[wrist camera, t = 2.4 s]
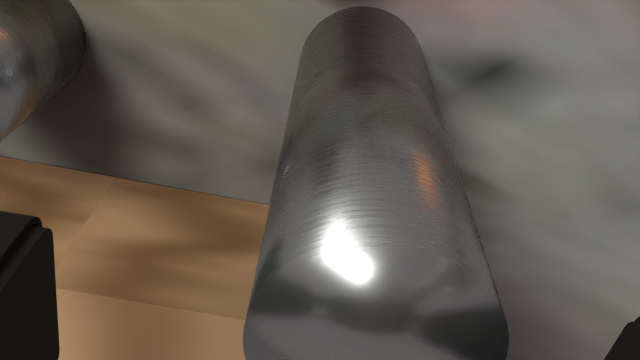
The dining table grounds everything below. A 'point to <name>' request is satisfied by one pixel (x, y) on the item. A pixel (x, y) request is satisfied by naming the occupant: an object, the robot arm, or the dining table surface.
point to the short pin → (36, 55)
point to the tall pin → (369, 214)
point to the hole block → (141, 263)
